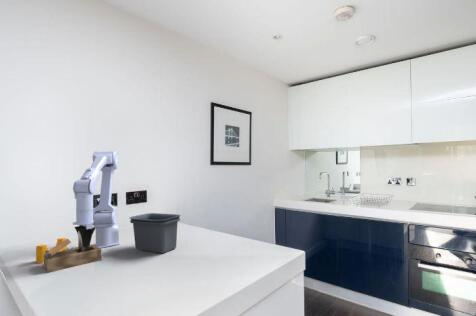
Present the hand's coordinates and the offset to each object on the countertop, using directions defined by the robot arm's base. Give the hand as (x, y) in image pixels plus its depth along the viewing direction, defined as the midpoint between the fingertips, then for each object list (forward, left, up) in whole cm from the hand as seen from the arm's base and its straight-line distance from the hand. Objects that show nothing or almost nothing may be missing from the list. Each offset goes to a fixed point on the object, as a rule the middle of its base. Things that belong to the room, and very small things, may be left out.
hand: (84, 245), depth 102 cm
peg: (0, 0, -2) cm, 2 cm away
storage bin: (-27, +7, -6) cm, 28 cm away
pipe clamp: (+9, -15, -6) cm, 18 cm away
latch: (+8, 0, 0) cm, 8 cm away
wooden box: (+4, 0, -6) cm, 7 cm away
